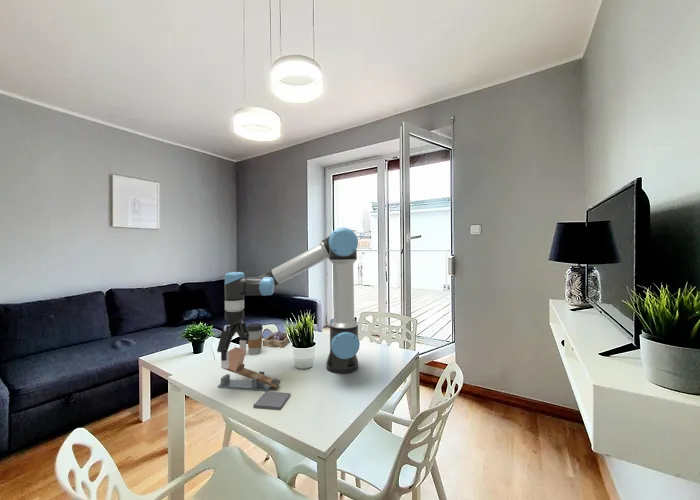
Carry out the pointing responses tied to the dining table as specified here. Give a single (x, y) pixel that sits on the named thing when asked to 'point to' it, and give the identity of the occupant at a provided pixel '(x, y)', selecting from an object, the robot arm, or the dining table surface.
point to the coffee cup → (255, 338)
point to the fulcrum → (244, 384)
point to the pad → (272, 400)
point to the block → (236, 358)
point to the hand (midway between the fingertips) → (234, 361)
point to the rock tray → (276, 343)
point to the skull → (278, 336)
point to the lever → (256, 376)
